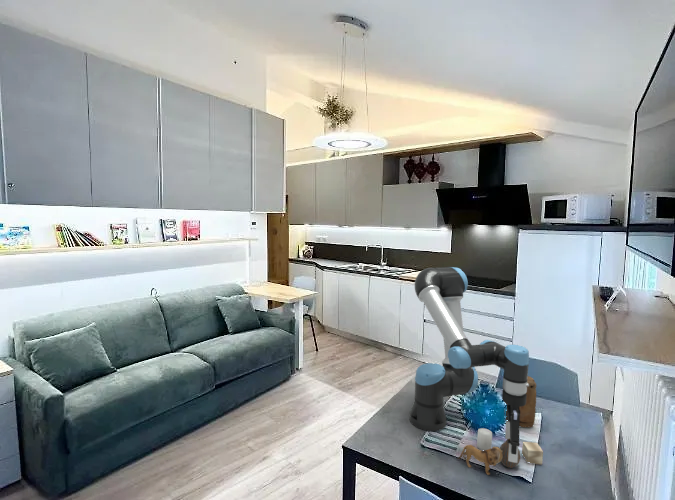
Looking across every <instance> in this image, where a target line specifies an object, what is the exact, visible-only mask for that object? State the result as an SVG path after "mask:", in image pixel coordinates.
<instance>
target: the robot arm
mask: <svg viewBox="0 0 675 500" xmlns="http://www.w3.org/2000/svg"><path fill="white" fill-rule="evenodd" d="M468 286H469V283H468V278H467V274H465V272H464V271H462V269H461V268H459V267H453V266H447V267H426V268H424V269H423V270H421V271H420V272H419V273H418V274H417V276H416V278H415V280H414V291H415V294H416V297H417V299H418V300H419V301H420V302H422V303H423V304H424V306H425V307H426V309H427V311H428V312H429V315H430V317H431V318H432V320H433V322H434V323H435V325H436V327H437V329H438V330H439V332H440V334H441V335H442V338H443V347H444V357H445V358H444V359H443V360H442V361H441V363H442V364H440V363H432V362H429V363H423V364H420V365H419V366H418V367H417V369H416V370H415V376H414V401H413V404H412V406H411V407H410V408H411V409H410V411H409V415H408V416H409V422H410V423H411V424H412V425H413V426H414V427H415V428H418V429H420V430H424V431H428V432H437V430H438V431H440V430H443V429H444V428H446V426H447V415H446V411H445V408H444V398H445V397H451V396H452V397H453V396H460V395H467V394H471V393H474V392H475V390H476V389H477V388H478V387H477V386H478V384H479V374H478V371H477V369H476V368H477V367H486V366H496V367H498V368H499V369H502V370H503V374H502V390H501V391H502V396H501V400H502V401H503V402H504V404H505V403H506V404H507V411H506V416H507V417H506V419H505V436H504V439H505V440H507V439H510V441H508V443H509V454H508V461H510V462H515V463H517V460H518V449H519V447H520V445H521V444H520V427H519V422H520V410H519V407H522V406H524V405H526V397H527V395H526V392H527V387H526V386H529V384H528V383H527V378H528V376H529V365H530V354H529V353H530V352H529V350H528V348H526V347H525V346H523V345H518V344H507V345H505V346H504V345H502V344H500V343H498V342H497V341H495V340H490V339H485V340H483V341H481V342H480V343H479V344H472V343H471V342H470V340H469V339H468V337H467V335H466V334H465V332H464V325H463V316H462V315H463V313H462V306H461V300H463V298H464V293H465V292H466V291H467V290H468ZM470 392H471V393H470ZM506 420H508V421H506Z"/></svg>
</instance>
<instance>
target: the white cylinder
mask: <svg viewBox="0 0 675 500" xmlns="http://www.w3.org/2000/svg"><path fill="white" fill-rule="evenodd" d="M492 442H493V432H492V431H491V430H489V429H487V428H484V427H483V428H482V427H481V428H478V430H477V440H476V448H477V449H479V450H480V449H481V451H482V450H488V449H491V448H492Z"/></svg>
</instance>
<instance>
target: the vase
mask: <svg viewBox="0 0 675 500" xmlns="http://www.w3.org/2000/svg"><path fill="white" fill-rule="evenodd" d="M505 440H506V441H504V442H502V443H501V445H500V446H499V448H500V449H501V450H502V456H503V458H502V460H501V461H500V463H502V464H503V466H504V467H506V466H507V468H509V467H510V469H512V468H513V467H514V468H516V467H517V466H519V463H520V462H521V451H520V449H519V448H518V460H517V463H515V462H510V461H508V454H509V443H508V441H510V439H505Z"/></svg>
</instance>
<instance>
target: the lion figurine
mask: <svg viewBox="0 0 675 500" xmlns="http://www.w3.org/2000/svg"><path fill="white" fill-rule="evenodd" d="M472 456H473V458H474V459H475V460H476V461H477V462H480V463H482V464H483V463H484V466H485V471H484V472H485V474H486V475H487V476H489V475H491V472H490V470H491V468H490V466H494V467H495V466H497V464H499V463H501V460H502V458H503V456H502V450H501V449H500V446H492V447H491V449H488V450H484V451H482V450H480V449H479V448H478V447H475V446H474V445H472V444H466V445H465V446H464V447H463V449H462V451H461V454H460V456H458V457H456V459H457V460H460V459H463V461H466V465H467V467H468V469H469V468H470V469H471V468H472V465H471V463H470V460H471V459H472Z"/></svg>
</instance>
